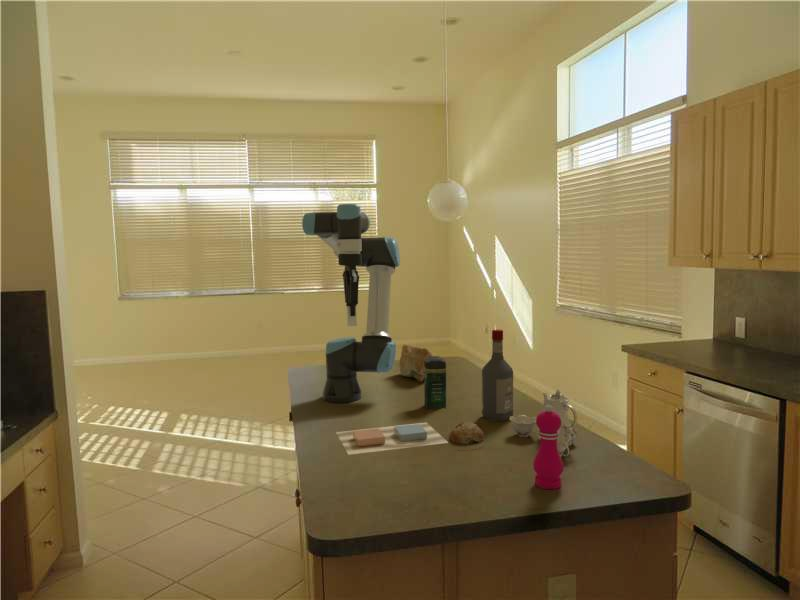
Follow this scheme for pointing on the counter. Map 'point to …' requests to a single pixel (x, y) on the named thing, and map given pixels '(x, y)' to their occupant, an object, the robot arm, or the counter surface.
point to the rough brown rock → (413, 361)
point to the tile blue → (410, 432)
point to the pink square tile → (368, 437)
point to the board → (389, 440)
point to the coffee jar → (435, 382)
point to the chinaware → (560, 406)
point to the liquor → (497, 383)
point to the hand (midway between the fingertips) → (352, 325)
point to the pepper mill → (548, 450)
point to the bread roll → (466, 433)
